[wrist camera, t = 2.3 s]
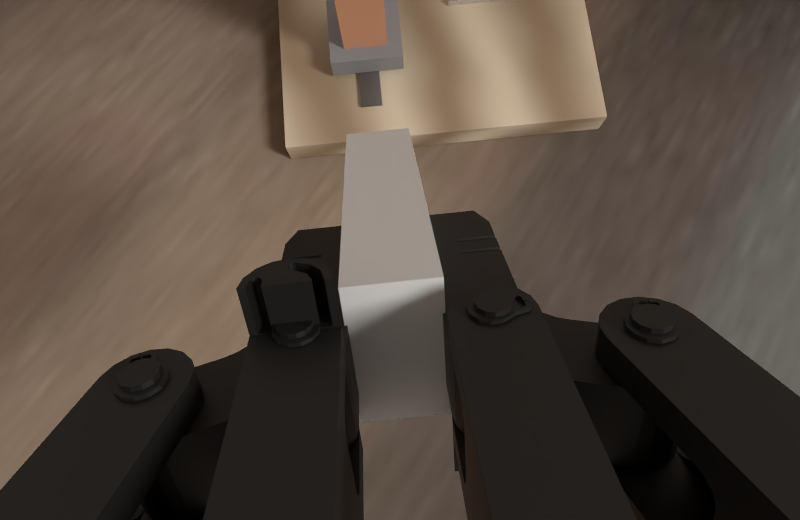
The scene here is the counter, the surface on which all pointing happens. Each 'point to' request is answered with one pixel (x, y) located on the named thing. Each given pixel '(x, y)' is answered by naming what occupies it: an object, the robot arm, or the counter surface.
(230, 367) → the robot arm
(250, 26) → the counter surface
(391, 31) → the orange lever on base
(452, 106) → the trammel board
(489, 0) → the black domed knob plate
